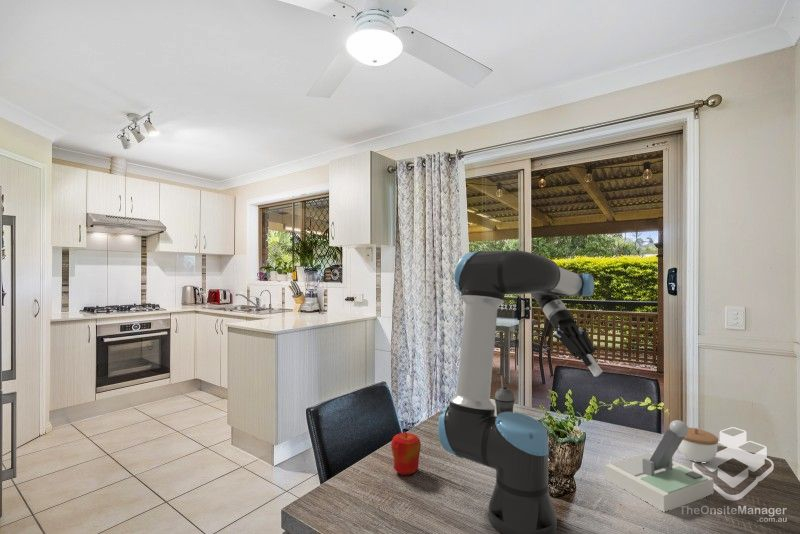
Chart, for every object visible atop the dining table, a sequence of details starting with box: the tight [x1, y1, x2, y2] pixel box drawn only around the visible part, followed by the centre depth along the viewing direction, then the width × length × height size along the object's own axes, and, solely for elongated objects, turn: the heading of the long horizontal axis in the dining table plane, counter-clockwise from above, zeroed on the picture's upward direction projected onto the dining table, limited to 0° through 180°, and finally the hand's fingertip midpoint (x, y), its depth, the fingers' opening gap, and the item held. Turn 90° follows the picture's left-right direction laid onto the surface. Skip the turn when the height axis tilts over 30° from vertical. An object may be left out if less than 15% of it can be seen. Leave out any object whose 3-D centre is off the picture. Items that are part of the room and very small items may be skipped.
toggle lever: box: [650, 419, 689, 471], centre depth 101 cm, size 4×5×16 cm
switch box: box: [604, 452, 715, 513], centre depth 103 cm, size 16×20×8 cm
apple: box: [390, 431, 422, 476], centre depth 111 cm, size 9×8×12 cm
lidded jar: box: [677, 427, 719, 463], centre depth 119 cm, size 11×11×9 cm
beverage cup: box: [493, 375, 516, 416], centre depth 140 cm, size 7×7×20 cm
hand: (598, 374), depth 120 cm, fingers closed
